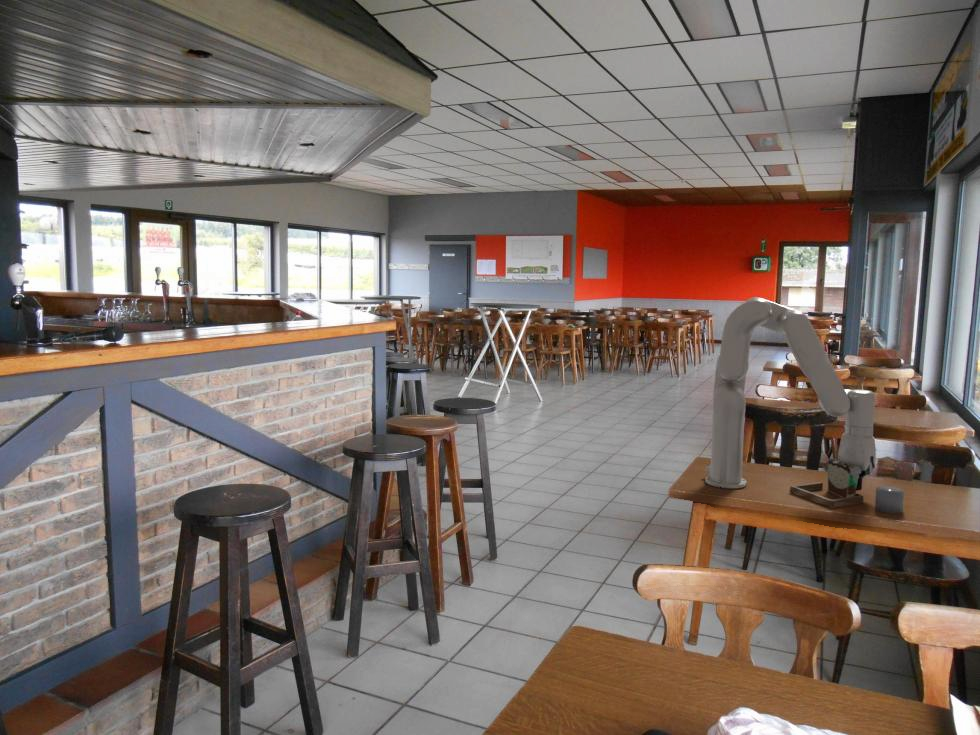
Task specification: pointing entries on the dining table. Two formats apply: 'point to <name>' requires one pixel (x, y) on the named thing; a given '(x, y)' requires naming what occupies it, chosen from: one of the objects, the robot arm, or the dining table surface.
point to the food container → (842, 478)
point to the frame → (804, 492)
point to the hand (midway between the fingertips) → (855, 489)
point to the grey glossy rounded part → (889, 499)
